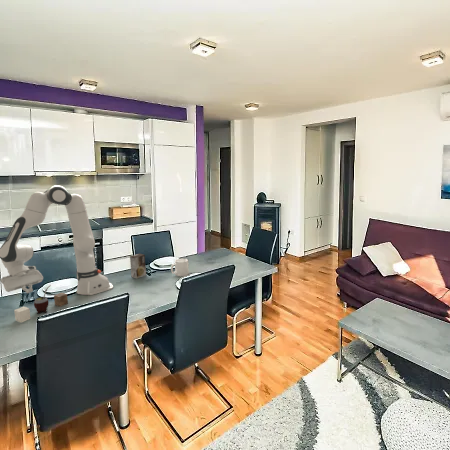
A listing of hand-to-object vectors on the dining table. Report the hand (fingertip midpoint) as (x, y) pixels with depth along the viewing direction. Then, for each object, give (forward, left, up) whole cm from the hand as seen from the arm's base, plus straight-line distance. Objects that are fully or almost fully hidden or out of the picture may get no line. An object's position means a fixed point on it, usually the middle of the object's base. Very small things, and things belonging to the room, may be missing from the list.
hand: (30, 291), depth 183 cm
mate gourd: (-5, +9, -10) cm, 14 cm away
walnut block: (-15, +5, -10) cm, 18 cm away
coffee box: (-70, -15, -10) cm, 72 cm away
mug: (-97, 0, -10) cm, 97 cm away
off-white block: (+5, +14, -10) cm, 18 cm away
